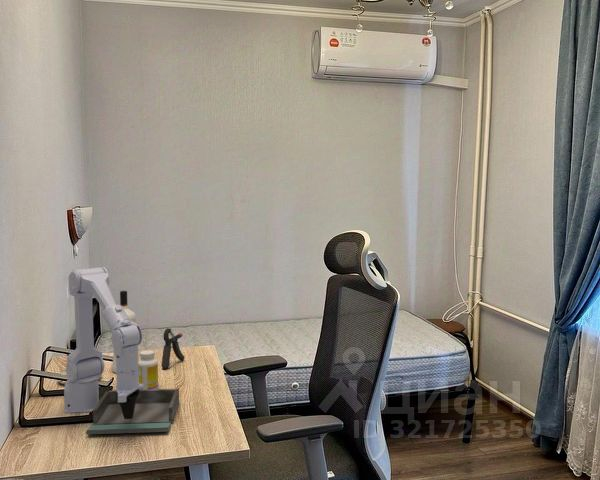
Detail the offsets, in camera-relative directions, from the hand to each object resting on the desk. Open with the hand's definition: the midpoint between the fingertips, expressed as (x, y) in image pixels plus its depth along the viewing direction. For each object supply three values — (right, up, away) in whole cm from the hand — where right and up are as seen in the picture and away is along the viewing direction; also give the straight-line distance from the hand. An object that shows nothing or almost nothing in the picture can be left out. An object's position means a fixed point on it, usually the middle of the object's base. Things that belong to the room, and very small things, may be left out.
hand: (128, 417), depth 146 cm
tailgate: (0, -4, +4) cm, 6 cm away
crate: (-1, -4, +13) cm, 13 cm away
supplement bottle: (-4, -2, +34) cm, 34 cm away
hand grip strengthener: (-2, 0, +59) cm, 59 cm away
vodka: (-18, 0, +52) cm, 55 cm away
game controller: (-30, -1, +41) cm, 51 cm away
